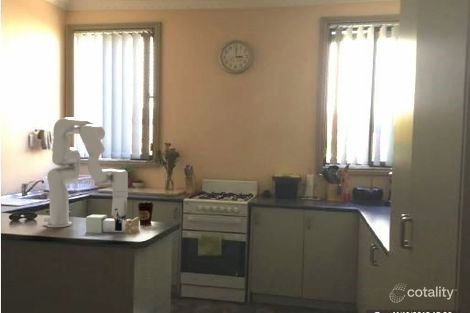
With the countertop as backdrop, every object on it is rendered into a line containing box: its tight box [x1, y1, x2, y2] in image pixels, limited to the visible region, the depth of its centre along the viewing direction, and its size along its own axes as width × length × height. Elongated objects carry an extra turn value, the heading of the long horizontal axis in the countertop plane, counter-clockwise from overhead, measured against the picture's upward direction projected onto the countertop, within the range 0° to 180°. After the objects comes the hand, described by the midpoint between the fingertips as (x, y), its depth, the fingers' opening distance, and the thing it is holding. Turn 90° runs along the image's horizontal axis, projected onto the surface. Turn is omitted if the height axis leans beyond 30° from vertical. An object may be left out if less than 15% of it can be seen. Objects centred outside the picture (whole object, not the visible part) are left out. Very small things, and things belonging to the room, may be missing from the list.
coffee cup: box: [137, 200, 154, 227], centre depth 233 cm, size 9×8×13 cm
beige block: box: [124, 216, 140, 235], centre depth 215 cm, size 4×9×7 cm, turn 173°
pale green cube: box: [85, 214, 108, 234], centre depth 217 cm, size 8×7×8 cm
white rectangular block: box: [102, 218, 132, 234], centre depth 216 cm, size 17×4×6 cm, turn 83°
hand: (120, 229), depth 216 cm, fingers closed on white rectangular block, 4 cm apart
